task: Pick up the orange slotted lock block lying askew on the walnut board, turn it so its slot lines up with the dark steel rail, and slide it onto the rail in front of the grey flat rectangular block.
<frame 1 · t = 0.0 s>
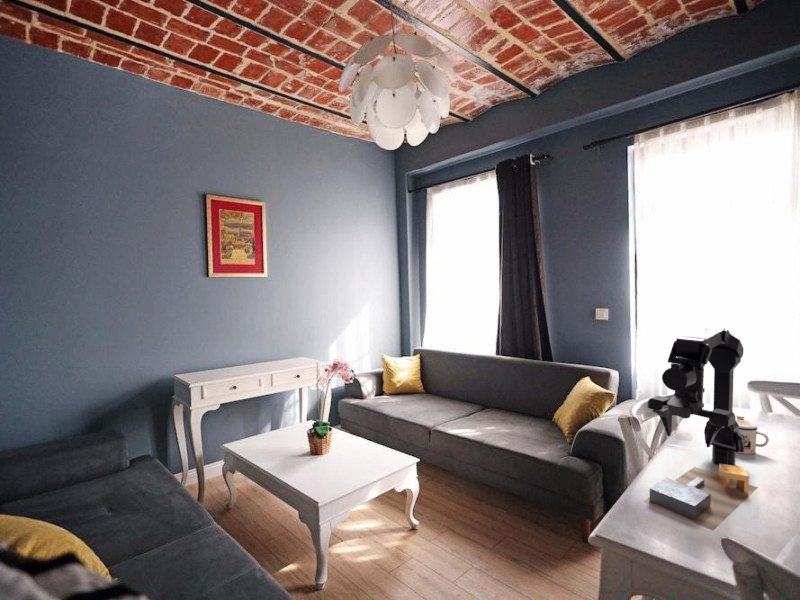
hand: (687, 441, 111), 15 cm above the table, tool pointing down, fingers open, 9 cm apart
teacup with lid: (744, 450, 140), on the table
walnut board: (702, 498, 110), on the table
grey flat rectangular block: (692, 489, 112), resting on walnut board
lock block: (732, 487, 113), point 1 cm above the table, touching walnut board
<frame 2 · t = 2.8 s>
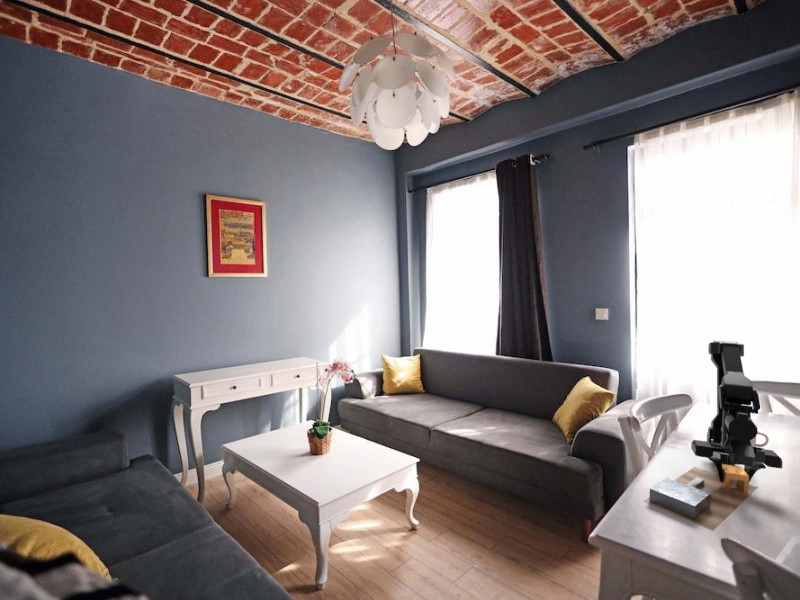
hand: (733, 483, 113), 2 cm above the table, tool pointing down, fingers closed on lock block, 5 cm apart
lock block: (732, 487, 113), point 1 cm above the table, touching gripper, walnut board
everything else where it was.
when the fingers open (2 cm above the table, at t = 8.9 s): lock block stays where it is, resting on walnut board.
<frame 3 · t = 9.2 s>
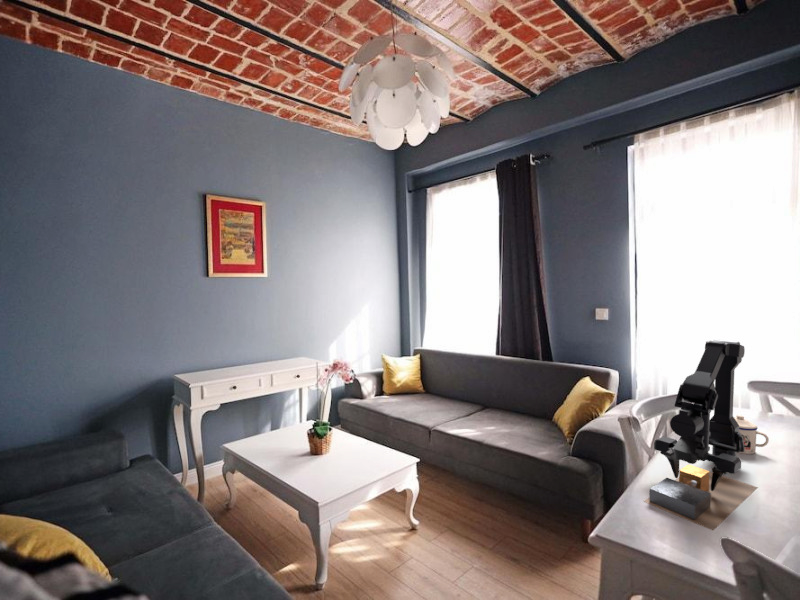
hand: (694, 483, 112), 2 cm above the table, tool pointing down, fingers open, 8 cm apart
lock block: (693, 488, 112), point 1 cm above the table, touching walnut board
everything else where it was.
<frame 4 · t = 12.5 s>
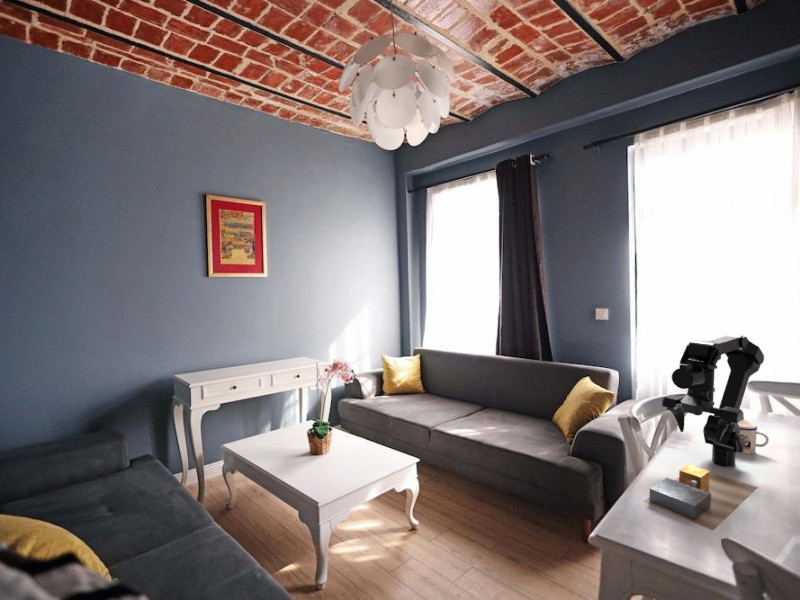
hand: (699, 436, 121), 12 cm above the table, tool pointing down, fingers open, 9 cm apart
nothing on the table moved.
at the end: lock block 0.2 cm from the target spot, point 1.2 cm above the table; lock block tilted 0°; the gripper is holding nothing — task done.
